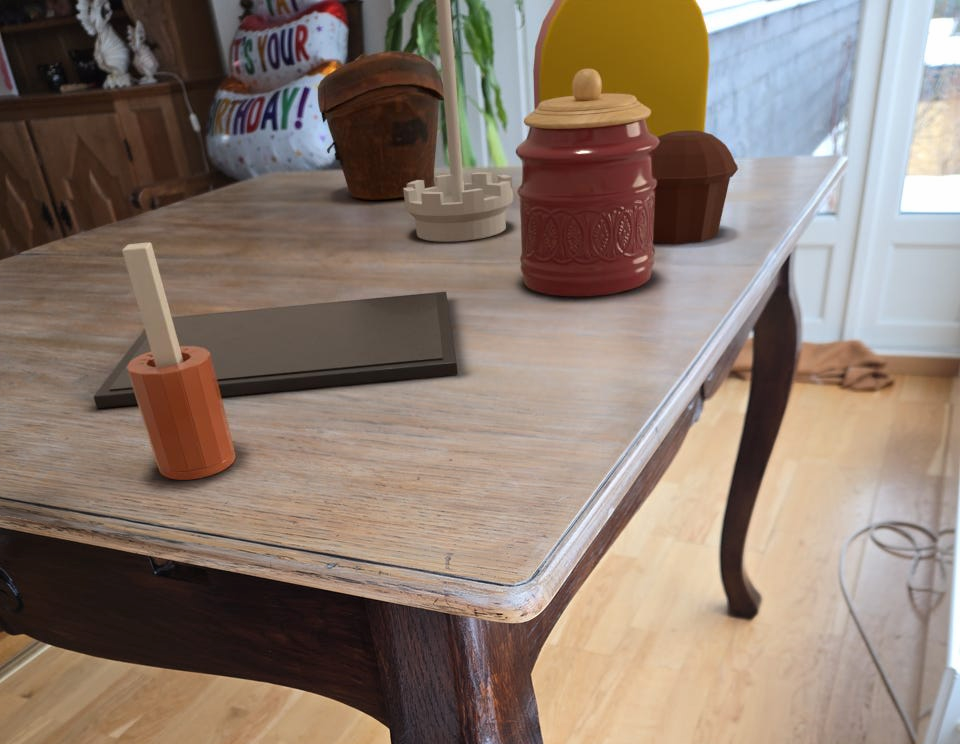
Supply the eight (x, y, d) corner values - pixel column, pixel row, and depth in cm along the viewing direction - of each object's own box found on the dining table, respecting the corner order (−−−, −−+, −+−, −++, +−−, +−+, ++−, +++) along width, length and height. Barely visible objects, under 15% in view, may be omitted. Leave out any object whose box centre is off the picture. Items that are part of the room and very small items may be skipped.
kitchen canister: (619, 304, 81) (624, 75, 70) (496, 292, 87) (484, 79, 76) (674, 267, 89) (685, 58, 79) (559, 258, 95) (556, 63, 85)
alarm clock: (685, 180, 125) (699, -58, 109) (702, 192, 117) (719, -61, 102) (536, 193, 125) (529, -43, 109) (543, 206, 117) (536, -45, 102)
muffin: (606, 237, 101) (607, 137, 95) (671, 218, 107) (676, 123, 101) (688, 252, 94) (695, 144, 88) (753, 230, 99) (764, 128, 93)
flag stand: (510, 240, 103) (494, -93, 86) (400, 246, 105) (362, -80, 87) (517, 216, 114) (504, -86, 96) (417, 221, 115) (386, -74, 98)
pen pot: (151, 483, 57) (117, 377, 53) (168, 450, 61) (137, 349, 57) (229, 476, 57) (201, 369, 53) (240, 443, 61) (215, 342, 57)
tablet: (97, 409, 69) (92, 395, 68) (154, 329, 85) (151, 317, 84) (457, 374, 69) (456, 360, 68) (447, 301, 85) (446, 290, 85)
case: (381, 178, 144) (365, 46, 134) (479, 184, 134) (470, 40, 123) (301, 201, 133) (276, 58, 123) (401, 209, 123) (384, 54, 112)
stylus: (182, 460, 58) (121, 249, 51) (187, 451, 59) (127, 244, 52) (204, 458, 58) (145, 247, 51) (207, 449, 59) (151, 241, 52)
